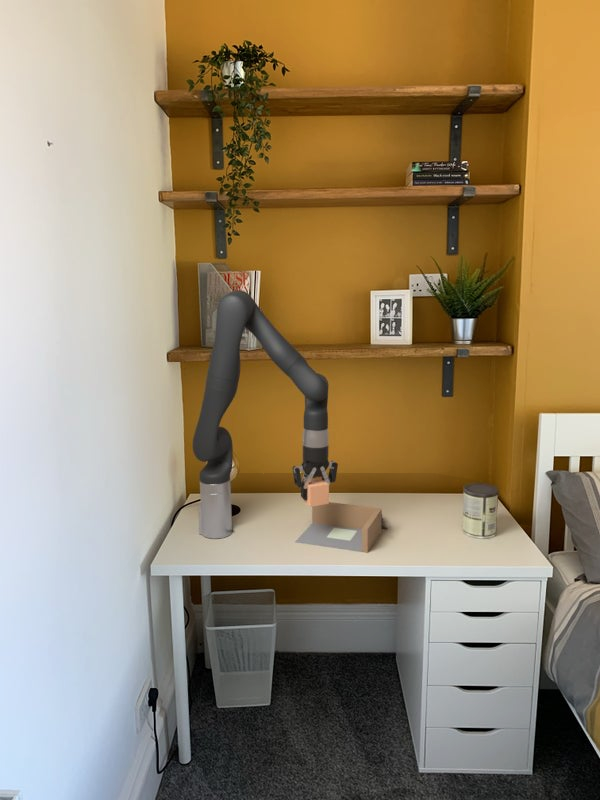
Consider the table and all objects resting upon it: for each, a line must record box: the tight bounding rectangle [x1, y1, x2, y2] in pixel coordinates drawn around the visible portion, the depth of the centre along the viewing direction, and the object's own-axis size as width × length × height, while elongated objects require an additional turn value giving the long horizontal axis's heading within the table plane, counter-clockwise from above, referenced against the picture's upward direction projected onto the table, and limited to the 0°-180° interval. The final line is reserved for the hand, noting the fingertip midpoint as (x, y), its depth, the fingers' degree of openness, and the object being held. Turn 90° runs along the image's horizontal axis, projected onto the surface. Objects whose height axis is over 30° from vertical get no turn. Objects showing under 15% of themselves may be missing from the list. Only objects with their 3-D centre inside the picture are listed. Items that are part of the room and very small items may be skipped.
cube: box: [301, 477, 330, 508], centre depth 183 cm, size 6×6×6 cm
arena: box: [294, 501, 383, 554], centre depth 186 cm, size 22×17×8 cm
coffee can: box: [461, 482, 500, 540], centre depth 189 cm, size 10×10×14 cm
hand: (315, 497), depth 183 cm, fingers closed on cube, 6 cm apart
